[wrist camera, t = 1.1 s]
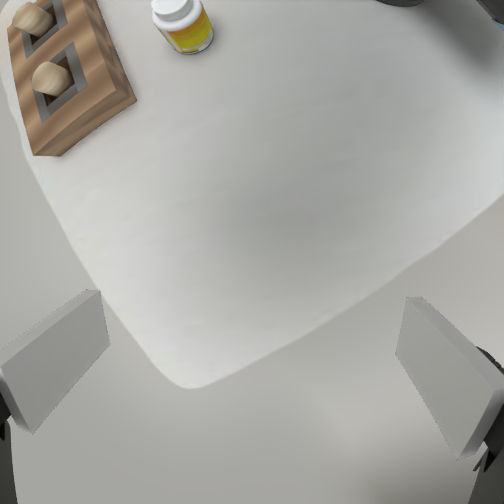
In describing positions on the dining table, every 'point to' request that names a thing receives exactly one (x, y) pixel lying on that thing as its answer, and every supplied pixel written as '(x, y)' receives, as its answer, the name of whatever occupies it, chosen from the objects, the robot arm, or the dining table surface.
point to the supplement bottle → (183, 24)
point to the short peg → (52, 79)
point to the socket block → (83, 70)
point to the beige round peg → (33, 20)
